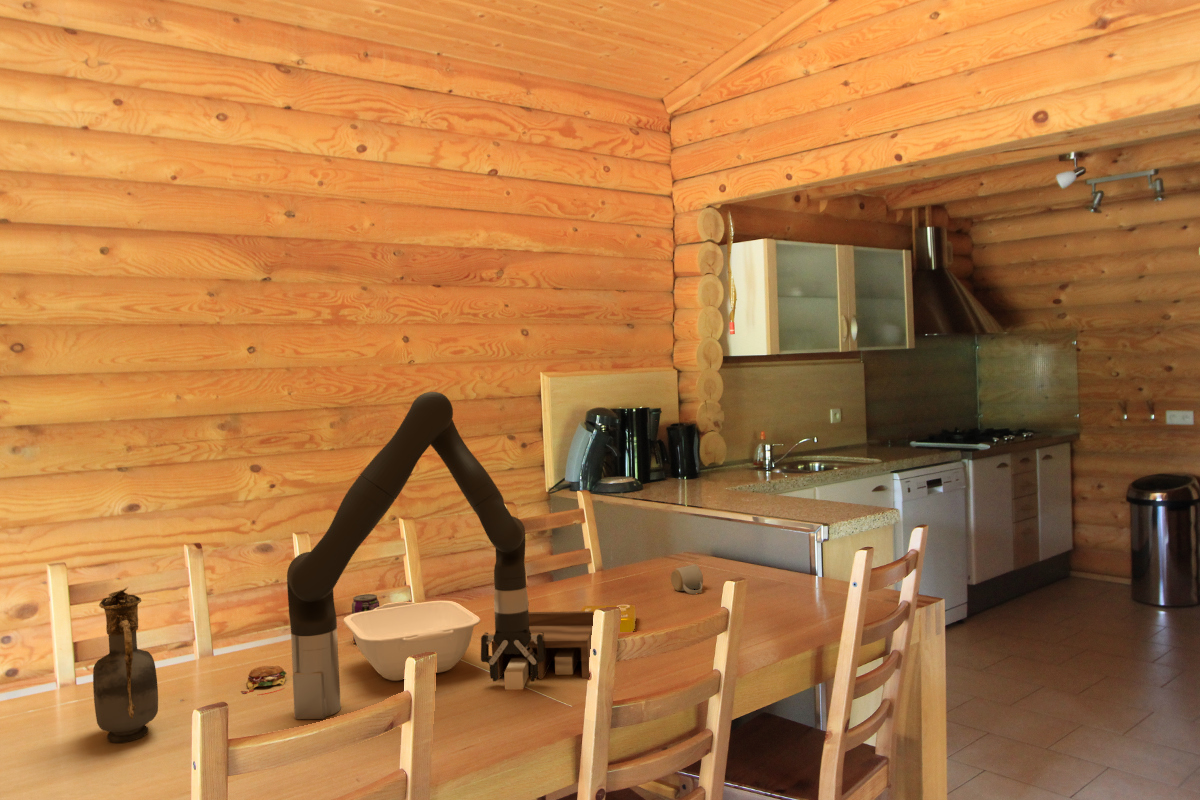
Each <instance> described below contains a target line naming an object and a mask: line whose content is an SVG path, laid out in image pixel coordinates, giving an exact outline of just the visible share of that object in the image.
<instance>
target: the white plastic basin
mask: <svg viewBox="0 0 1200 800" xmlns="http://www.w3.org/2000/svg"><path fill="white" fill-rule="evenodd" d="M343 623H344V625H345V626H346V627H347V628H348V629H349V630H350V631H351V633H352V637H353V636H354V639H355V644H356V646H357V648H358V650H359V652H360V653H361V654H362V656H364V658H365V659H366V660H367V662H368V663H369V664H370V666H371V667H373V669H374V670H375V671H376V672H377V674H379V675H380V676H381V677H383V679H386V680H389V681H392V682H393V681H394V682H395V681H398V682H399V681H402V680H403V678H404V669H405V661H406V659H407V658H408V657H409V656H412V655H416V654H421V653H425V652H436V653H437V673H436V674H440V673H444V672H447V671H450V670H451V669H452V668H454V667H455V666H456V665H457V663H459V662H460V660H461V659H462V658H463V657H464V655H465V654H466V652H467V650H468V648H469V646H470V644H471V640H472V636H473V633H474V627H475V626H477V625H479V624H480V623H481V618H480V617H479V616H478V615H476V614H475V613H473V612H471V611H470V610H468V609H467V608H465V607H464V606H462V605H461V604H459V603H458V602H455V601H452V600H433V601H425V602H418V603H417V602H413V601H410V602H409V601H408V602H407V601H397V602H389V603H385V604H382V605H379V607H377V608H375V609H373V610H371V611H364V612H359V613H354V614H352V613H351V614H348V615H347V616H345V617H344V618H343ZM403 681H404V680H403Z"/></svg>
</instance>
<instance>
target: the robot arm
mask: <svg viewBox="0 0 1200 800" xmlns="http://www.w3.org/2000/svg"><path fill="white" fill-rule="evenodd" d="M453 417H454V408H453V406H452V402H451V401H450V400H449V398H448V397H447V396H446V395H444V394H443V393H441V392H438V391H428V392H424V393H422V394H420V395H419V396H417V397H416V398H415V399H414V400H413V402H412V403H411V406H410V408H409V410H408V412H407V413H406V415H405V417H404V419H403V420H402V422H401V424H400V425H399V427H398V429H396V431H395V433H394V435H393V436H392V437H391V438H390V440H389V441H388V442H387V443H386V444H385V446H383V447H382V449H380V450H379V451H378V453H377V454H376V455H375V456H374V457H373V458H372V459H371V460H370V462H369V463H368V464H367V465H366V466H365V468H364V469H363V470H362V472H361V473H360V474H359V475H358V477H357V478H356V479H355V481H354V482H353V483H352V485H351V486H350V488H349V489H348V490H347V492H346V493H345V496H344V497H343V499H342V500H341V502H340V505H339V507H338V509H337V511H336V513H335V515H334V517H333V519H332V521H331V523H330V525H329V528H328V529H327V531H326V532H325V533H324V535H323V536H322V537H321V539H320V540H319V541H318V543H316V545H315V546H314V547H313V549H311V551H305V552H303V553H301V554H298V555H297V556H296V557H294V558H293V560H291V562H290V563H289V565H288V569H287V571H286V572H287V573H286V582H287V584H286V585H287V589H286V590H287V600H288V601H287V604H288V615H289V616H288V617H289V624H290V625H289V626H290V639H291V641H290V643H291V644H290V645H291V662H292V663H291V664H292V689H293V707H294V708H293V711H294V713H293V714H294V719H295V720H324V719H325V718H327V717H330V716H332V715H334V714H336V713H338V712H340V710H341V709H342V708H341V704H342V703H341V687H340V686H341V685H340V684H341V683H340V665H339V664H340V663H339V647H338V646H339V643H338V642H339V641H338V623H337V622H338V621H337V620H338V619H337V613H336V612H337V611H336V607H335V598H334V597H335V596H334V588H335V586H337V583H338V582H339V580H340V577H341V576H342V574H343V572H344V571H345V569H346V568H347V566H348V564H349V563H350V561H351V559H352V557H353V556H354V554H355V553H356V551H357V550H358V549H359V547H360V546H361V544H362V543H364V542H365V540H366V539H367V537H368V536H369V535H370V534H371V533H372V531H374V529H375V527H377V525H378V523H379V522H380V521H381V519H383V517H384V516H385V515H386V514H387V512H388V510H389V509H390V508H391V507H392V506H393V503H394V502H395V501H396V500H397V499H398V497H399V495H400V494H401V492H402V490H403V489H404V487H405V486H406V483H407V482H408V480H409V478H410V477H411V475H412V473H413V471H414V469H415V467H416V465H418V462H419V460H420V459H421V457H422V456H423V454H424V453H425V452H426V450H427V449H428V448H429V447H430V446H431V447H432V449H433V450H434V451H435V453H437V455H438V456H439V457H440V459H441V460H442V462H443V463H444V465H445V466H446V468H447V469H448V471H449V473H450V475H451V476H452V478H453V479H454V481H455V483H456V484H457V486H458V487H459V489H460V491H461V493H462V494H463V496H464V498H465V499H466V501H467V502H468V504H469V506H471V508H472V510H473V512H475V514H476V515H477V517H478V519H479V522H480V524H481V526H482V527H483V530H484V533H485V534H486V537H487V538H488V540H489V541H490V542H491V544H492V546H494V548H495V564H494V566H493V567H494V569H493V581H494V594H493V595H494V596H493V605H494V607H493V608H494V610H493V611H494V629H495V630H494V634H492V633H490V634H489V632H488V631H487V632H486V631H485V632H484V633H483V634H482V635H481V637H480V661H481V662H482V663H486V664H488V665H489V677H490V679H492V681H493V682H497V681H498V664H497V662H496V660H497V659H498V657H499V656H500V654H501V653H502V652H503V653H506V654H512V653H513V654H520V653H523V655H524V656H525V657H526V658H528V660H529V662H530V664H529V672H530V681H531V682H535V681H536V679H537V678H538V663H539V662H543V661H544V659H545V658H546V650H545V640H544V633H543V632H540V633H539V634H531V633H530V630H529V612H530V610H529V596H528V590H527V576H526V575H527V574H526V573H527V572H526V571H527V570H526V565H525V564H526V563H525V560H526V559H525V557H526V529H525V525H524V524H523V521H521V520H520V519H519V518H517V517H516V516H513V515H511V513H510V511H509V510H508V507H506V503H505V500H504V497H503V495H502V493H501V491H500V490H499V488H498V487H497V485H496V483H495V482H494V480H493V478H491V476H490V474H489V473H488V472H487V469H486V468H484V465H482V464H481V462H480V461H479V460H478V459H477V458H476V456H475V455H474V453H472V451H471V450H470V449H469V448H468V446H467V445H466V443H465V441H464V440H463V438H462V436H461V435H460V433H459V431H458V429H457V427H456V424H455V422H454V420H453ZM531 639H533V640H534V642H535V644H537V645H538V656H537V655H536V654H535V653H534V652H533V650H532V648H531V647H530V646H529V644H528V643H529V642H530V640H531ZM492 640H494V641H495V643H496V644H497V645H498V647H499V648H498V649H497V651H496V652H495V653H494V655H493V656H492V655H489V654H490V651H489V649H490V645H491V644H492Z"/></svg>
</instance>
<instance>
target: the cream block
mask: <svg viewBox="0 0 1200 800" xmlns="http://www.w3.org/2000/svg"><path fill="white" fill-rule="evenodd" d="M529 662H530V661H529V660H528V658H511V660H510V662H509V664H508V666H507V668H506V669H505V671H504V673H503V674H504V690H506V691H507V690H524V688H525V686H526V683H527V680H528V678H529V675H530V663H529Z"/></svg>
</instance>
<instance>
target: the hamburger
mask: <svg viewBox="0 0 1200 800" xmlns="http://www.w3.org/2000/svg"><path fill="white" fill-rule="evenodd" d="M286 675H287V672H286V671H285V670H284V669H283V667H281V665H262V666H258V667H255V668H253V669H251V670H250V672H249V674H248V675H247V680H246V683H247V687H248V690H241V691H240V693H241V694H242V695H248V693H253V692H254V691H255V688H263V687H270V686H276V685H278V684H281V685H283V686H284V684H285V681H286ZM284 689H285V687H282V688H280V689H278V690H273V691H270V692H267V693H260V694H258V696H263V695H268V694H273V693H277V692H279V691H282V690H284Z"/></svg>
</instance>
